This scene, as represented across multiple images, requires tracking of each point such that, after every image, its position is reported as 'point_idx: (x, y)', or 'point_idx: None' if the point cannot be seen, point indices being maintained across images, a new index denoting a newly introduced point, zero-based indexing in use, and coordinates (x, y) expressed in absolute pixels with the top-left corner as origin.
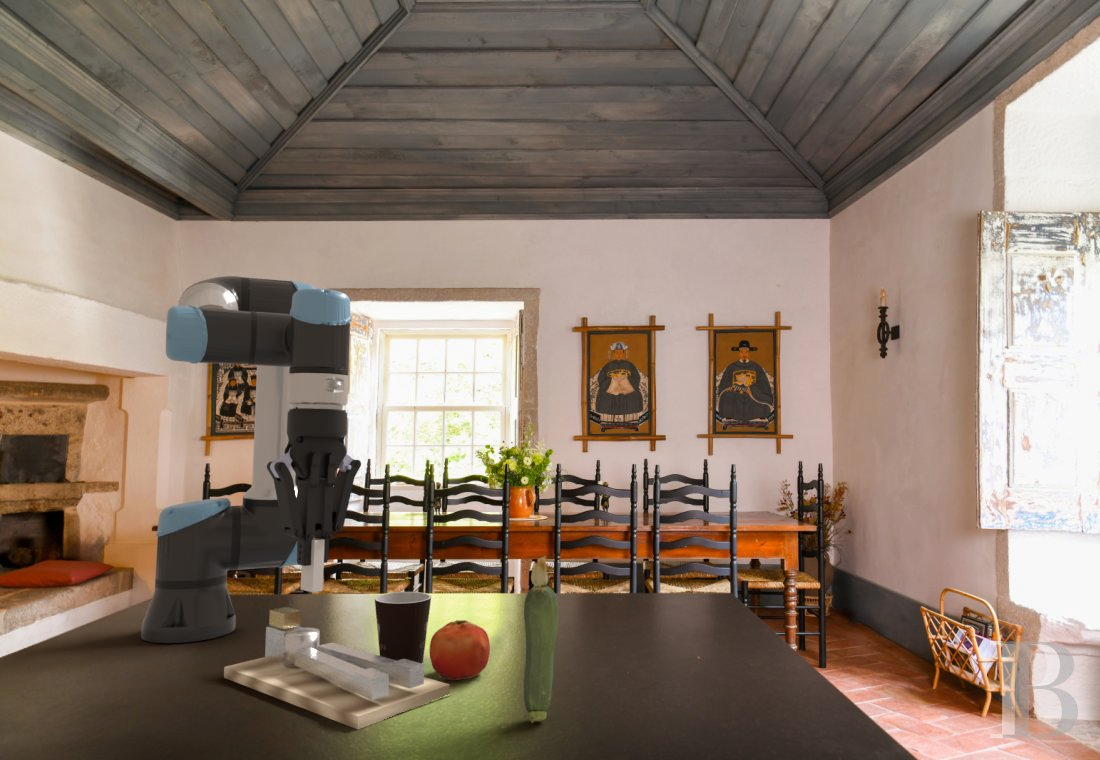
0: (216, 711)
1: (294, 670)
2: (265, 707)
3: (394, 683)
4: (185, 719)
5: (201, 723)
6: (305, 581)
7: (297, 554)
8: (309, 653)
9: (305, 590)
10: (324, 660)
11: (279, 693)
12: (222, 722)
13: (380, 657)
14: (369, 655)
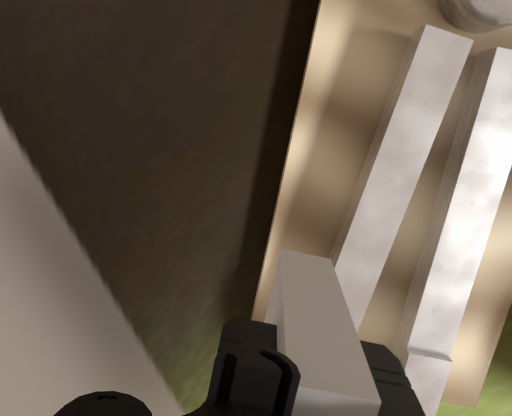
0: (179, 28)
1: (421, 20)
2: (248, 107)
3: (393, 346)
4: (115, 9)
5: (119, 62)
6: (273, 297)
7: (218, 349)
8: (420, 86)
9: (273, 282)
10: (382, 174)
11: (300, 93)
12: (144, 97)
13: (464, 283)
14: (468, 247)
